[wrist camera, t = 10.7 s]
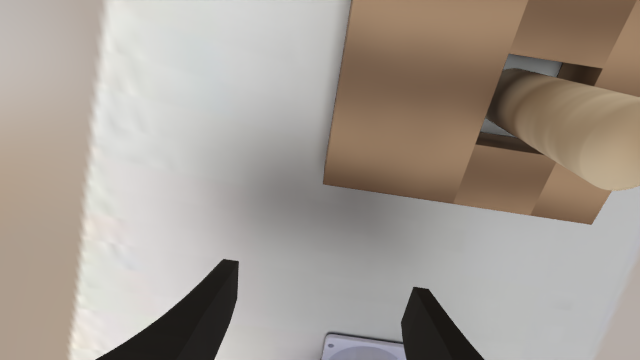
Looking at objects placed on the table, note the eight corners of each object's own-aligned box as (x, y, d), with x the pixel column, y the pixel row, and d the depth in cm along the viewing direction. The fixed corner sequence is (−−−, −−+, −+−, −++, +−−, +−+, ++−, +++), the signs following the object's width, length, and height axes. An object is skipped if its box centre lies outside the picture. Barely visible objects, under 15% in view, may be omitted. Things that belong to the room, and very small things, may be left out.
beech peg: (522, 126, 20) (650, 196, 12) (471, 119, 20) (564, 183, 12) (545, 72, 19) (708, 109, 10) (490, 64, 18) (611, 94, 10)
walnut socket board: (560, 199, 22) (591, 224, 19) (324, 164, 22) (323, 184, 19) (667, -3, 17) (730, -8, 14) (359, -52, 16) (364, -68, 14)
